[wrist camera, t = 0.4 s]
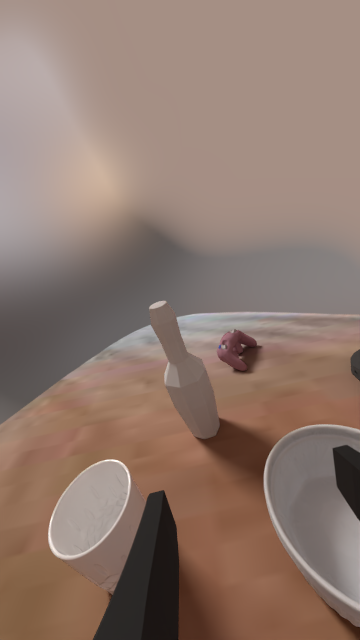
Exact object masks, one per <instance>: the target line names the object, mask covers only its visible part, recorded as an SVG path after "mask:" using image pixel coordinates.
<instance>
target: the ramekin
mask: <svg viewBox="0 0 360 640" xmlns="http://www.w3.org/2000/svg"><path fill="white" fill-rule="evenodd" d="M343 445H348V446H350V447H352V448H353V449H355V450H356V451H358V452H360V430H358V429H355V428H351V427H346V426H340V425H329V424H328V425H324V424H320V425H312V426H306V427H302V428H299V429H297V430H294V431H292V432H290V433H288V434H287V435H285V436H284V437H283V438H281V439H280V440H279V441H278V442H277V443H276V444H275V446H274V447H273V449H272V450H271V452H270V454H269V456H268V458H267V461H266V464H265V469H264V492H265V498H266V502H267V507H268V511H269V514H270V518H271V520H272V523H273V526H274V528H275V530H276V533H277V535H278V537H279V539H280V541H281V542H282V544H283V546H284V548H285V549H286V551H287V552H288V554H289V555H290V557H291V558H292V560H293V561H294V563H295V564H296V565H297V567H298V569H299V570H300V571H301V573H302V574H303V575H304V577H305V579H306V580H307V582H308V583H309V584H310V585H311V586H312V587H313V588H314V590H315V591H316V593H317V594H318V595H319V596H320V597H322V598H323V599H324V600H325V602H326V603H327V604H328V605H329V606H330V607H331V608H333V609H335V610H336V611H337V612H338V613H339V615H340V616H342V617H343V618H345V619H347V620H349V621H350V622H351V623H352V624H353V625H354V626H356V627H360V521H359V520H358V518H357V517H356V515H355V514H354V512H353V511H352V509H351V508H350V506H349V505H348V503H347V502H346V500H345V499H344V497H343V496H342V494H341V492H340V491H339V489H338V488H337V484H336V475H335V467H334V458H333V449H332V448H335V447H339V446H343Z"/></svg>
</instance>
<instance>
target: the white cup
mask: <svg viewBox="0 0 360 640" xmlns="http://www.w3.org/2000/svg"><path fill="white" fill-rule="evenodd" d="M145 505H146V501H145V499H144V497H143V495H142V493H141V491H140V490H139V488H138V486H137V484H136V483H135V481H134V479H133V477H132V476H131V474H130V472H129V470H128V468H127V467H126V466H125V465H124V464H123V463H122V462H120V461H118V460H104V461H100V462H98V463H96V464H94V465H92V466H90V467H89V468H87V469H86V470H84V471H83V472H82V473H81V474H80V475H78V476H77V477H76V478H75V479H74V480H73V481H72V483H71V484H70V485H69V486H68V487H67V489H66V490H65V491H64V493H63V494H62V496H61V498H60V499H59V501H58V503H57V505H56V507H55V509H54V512H53V514H52V517H51V520H50V524H49V530H48V541H49V546H50V549H51V551H52V552H53V554H54V555H55V556H56V557H58V558H59V559H61V560H62V561H63V562H65V563H66V564H68V565H69V566H70V567H72V568H73V569H74V570H76V571H77V572H78V573H80V574H81V575H82V576H84V577H85V578H86V579H88V580H90V581H91V582H93V583H94V584H96V585H97V586H99V587H101V588H103V589H105V590H107V591H108V592H109V593H110V594H112V595H113V593H114V590H115V588H116V585H117V583H118V580H119V578H120V576H121V573H122V571H123V568H124V565H125V563H126V560H127V557H128V555H129V552H130V549H131V547H132V544H133V541H134V538H135V535H136V533H137V530H138V527H139V524H140V521H141V518H142V515H143V511H144V508H145Z"/></svg>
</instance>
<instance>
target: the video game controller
mask: <svg viewBox="0 0 360 640" xmlns="http://www.w3.org/2000/svg"><path fill="white" fill-rule="evenodd" d="M241 344H243V345H246V346H249V347H255V346H256V345H257V343H256V341H255V340H254V339H253V338H252V337H250V336H248V335H246V334H244V333H242V332H241V331H239V330H236V329H234V330H231V331H229V332H228V333H226V334H225V335H224V336H223V337H222V339H221V341H220V345H219V348H218V349H217V354H218V357H219V358H220V359H221V360H222V361H223V362H226V363H227V364H228V365H230V366H231V367H233V368H235V369H237V370H240V371H245V370H246V369H247V366H246V364H245V363H244V362H243V361H242V360H240V359H239V357H238V354H239V353H241V352H243V348H242V346H241Z"/></svg>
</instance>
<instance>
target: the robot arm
mask: <svg viewBox="0 0 360 640" xmlns="http://www.w3.org/2000/svg"><path fill="white" fill-rule="evenodd" d="M332 449H333V458H334V467H335V475H336V484H337V488H338V489H339V491H340V492H341V494H342V496H343V497H344V499H345V500H346V502H347V503H348V505H349V506H350V508H351V509H352V511H353V512H354V514H355V515H356V517H357V518H358V520H359V521H360V452H358V451H356V450H355V449H353V448H352V447H350V446H348V445H343V446H339V447H335V448H332ZM178 614H179V556H178V541H177V528H176V524H175V521H174V518H173V515H172V512H171V509H170V506H169V504H168V501H167V498H166V495H165V492H164V490H163V491H159V492H155V493H150V494H149V496H148V498H147V502H146V505H145V508H144V511H143V515H142V518H141V521H140V524H139V527H138V530H137V533H136V535H135V538H134V541H133V544H132V547H131V549H130V552H129V555H128V557H127V560H126V563H125V565H124V568H123V571H122V573H121V576H120V578H119V580H118V583H117V585H116V588H115V590H114V593H113V595H112V598H111V600H110V602H109V605H108V607H107V609H106V612H105V614H104V616H103V619H102V621H101V623H100V625H99V627H98V630H97V632H96V634H95V636H94V638H93V640H178Z"/></svg>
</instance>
